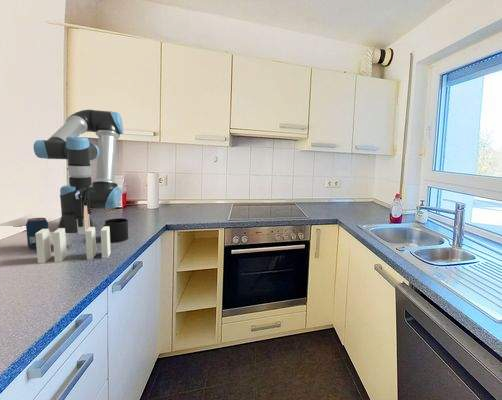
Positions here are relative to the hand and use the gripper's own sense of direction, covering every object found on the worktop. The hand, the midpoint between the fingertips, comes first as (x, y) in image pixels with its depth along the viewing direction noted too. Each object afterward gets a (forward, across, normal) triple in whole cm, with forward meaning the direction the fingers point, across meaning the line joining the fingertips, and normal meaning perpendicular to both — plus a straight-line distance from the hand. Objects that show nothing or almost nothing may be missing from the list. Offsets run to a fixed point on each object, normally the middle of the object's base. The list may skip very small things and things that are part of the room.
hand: (84, 231), depth 108 cm
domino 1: (+7, +12, -10) cm, 17 cm away
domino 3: (0, 0, 0) cm, 0 cm away
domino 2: (+7, +12, -5) cm, 15 cm away
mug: (+7, -9, +10) cm, 15 cm away
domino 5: (+7, +12, +10) cm, 17 cm away
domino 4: (+7, +12, +5) cm, 14 cm away
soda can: (+7, -3, -17) cm, 19 cm away
